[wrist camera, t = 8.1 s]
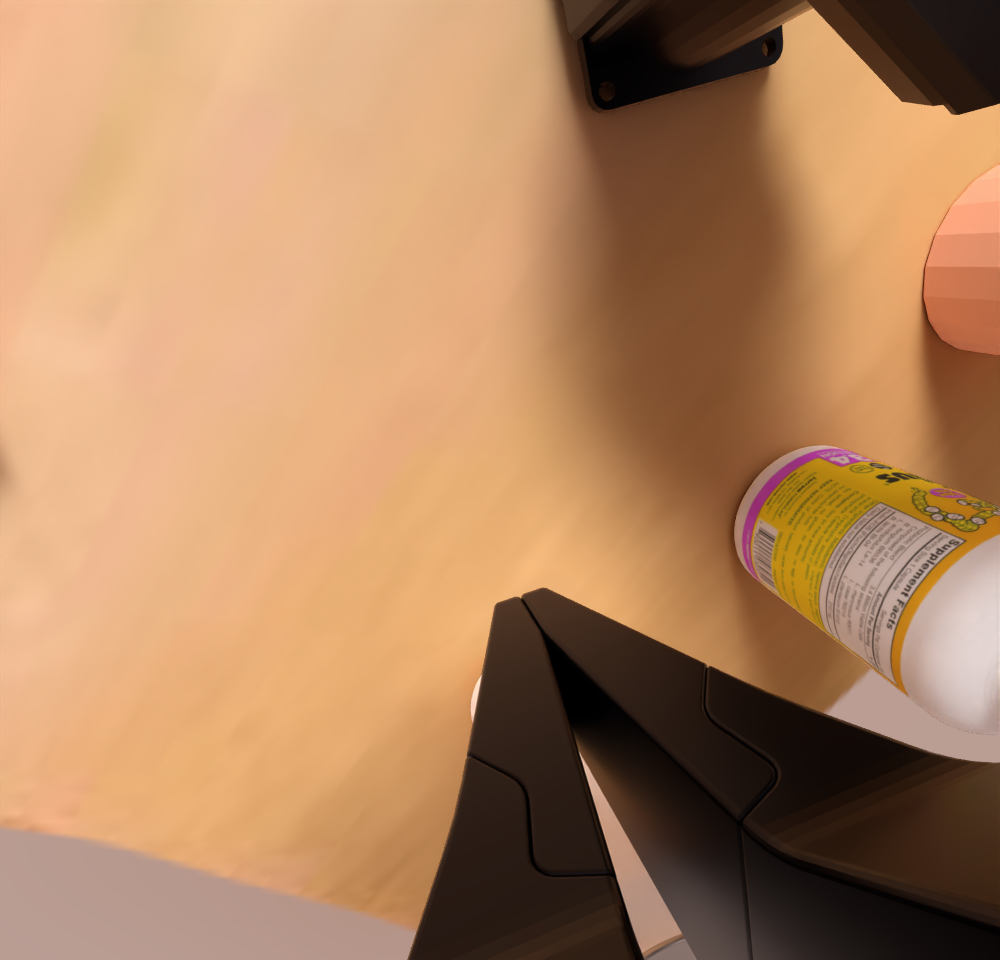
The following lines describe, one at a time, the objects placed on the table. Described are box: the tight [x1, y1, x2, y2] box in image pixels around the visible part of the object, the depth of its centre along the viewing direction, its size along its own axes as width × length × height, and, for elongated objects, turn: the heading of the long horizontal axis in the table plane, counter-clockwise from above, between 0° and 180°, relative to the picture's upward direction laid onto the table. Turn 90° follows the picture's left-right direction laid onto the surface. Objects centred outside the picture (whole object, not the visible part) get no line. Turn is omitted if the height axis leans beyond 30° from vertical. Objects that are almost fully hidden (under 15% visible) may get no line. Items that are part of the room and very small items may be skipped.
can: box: [471, 675, 697, 960], centre depth 20 cm, size 6×6×12 cm
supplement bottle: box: [734, 445, 1000, 735], centre depth 20 cm, size 7×7×13 cm
